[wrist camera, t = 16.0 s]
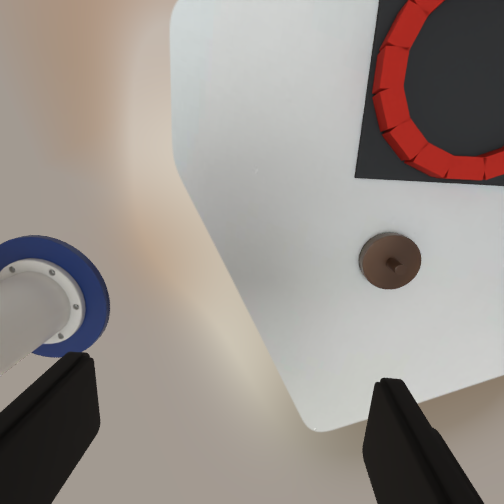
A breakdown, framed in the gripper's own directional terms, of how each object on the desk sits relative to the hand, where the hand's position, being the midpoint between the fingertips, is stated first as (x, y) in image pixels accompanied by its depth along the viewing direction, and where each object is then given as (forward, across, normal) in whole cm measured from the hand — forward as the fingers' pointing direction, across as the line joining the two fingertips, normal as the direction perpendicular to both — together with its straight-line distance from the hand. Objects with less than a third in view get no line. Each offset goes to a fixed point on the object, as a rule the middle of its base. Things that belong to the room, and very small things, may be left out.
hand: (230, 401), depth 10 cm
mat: (+26, -20, -17) cm, 37 cm away
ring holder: (+26, -15, +2) cm, 30 cm away
